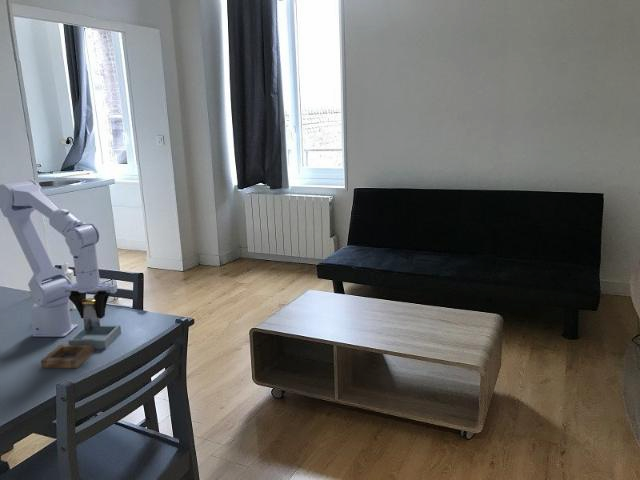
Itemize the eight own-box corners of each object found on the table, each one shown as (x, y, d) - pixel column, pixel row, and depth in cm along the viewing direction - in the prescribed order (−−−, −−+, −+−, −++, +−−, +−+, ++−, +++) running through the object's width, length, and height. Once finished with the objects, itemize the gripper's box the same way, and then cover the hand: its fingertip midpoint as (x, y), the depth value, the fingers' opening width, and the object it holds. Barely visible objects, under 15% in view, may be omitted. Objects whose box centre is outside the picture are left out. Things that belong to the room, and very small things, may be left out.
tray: (69, 348, 142) (68, 340, 141) (87, 333, 151) (86, 325, 151) (105, 349, 141) (104, 340, 141) (121, 333, 151) (120, 325, 150)
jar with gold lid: (79, 330, 142) (77, 302, 141) (88, 325, 147) (86, 297, 145) (96, 331, 142) (94, 302, 141) (104, 326, 146) (102, 298, 145)
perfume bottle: (65, 305, 173) (59, 261, 169) (79, 305, 173) (73, 261, 169) (60, 310, 168) (53, 266, 164) (74, 310, 168) (68, 265, 165)
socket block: (42, 367, 132) (40, 360, 131) (60, 351, 140) (59, 344, 140) (77, 368, 131) (76, 360, 131) (94, 351, 140) (93, 344, 139)
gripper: (52, 274, 138) (59, 322, 141) (106, 274, 137) (112, 323, 140) (66, 266, 144) (72, 312, 148) (118, 266, 144) (123, 312, 147)
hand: (93, 317), depth 144 cm, fingers closed on jar with gold lid, 4 cm apart
